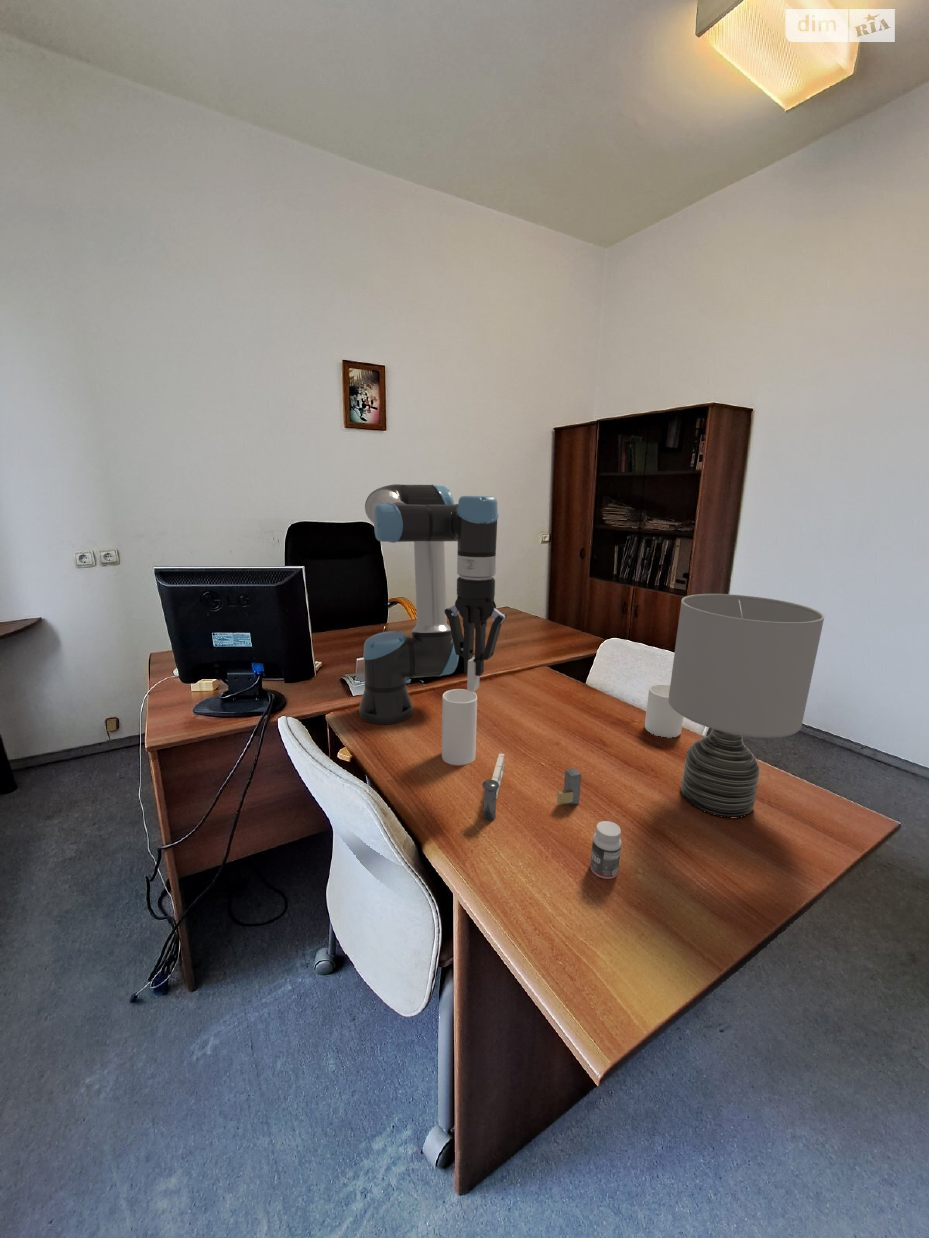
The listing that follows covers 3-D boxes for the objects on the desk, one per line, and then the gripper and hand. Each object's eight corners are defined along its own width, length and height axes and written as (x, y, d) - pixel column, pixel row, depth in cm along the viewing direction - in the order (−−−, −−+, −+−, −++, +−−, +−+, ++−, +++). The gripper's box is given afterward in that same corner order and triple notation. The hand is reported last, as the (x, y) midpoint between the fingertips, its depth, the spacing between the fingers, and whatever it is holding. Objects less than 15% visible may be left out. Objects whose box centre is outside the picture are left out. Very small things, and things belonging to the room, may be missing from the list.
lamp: (731, 851, 92) (772, 629, 81) (633, 784, 113) (655, 599, 102) (807, 815, 103) (852, 614, 92) (705, 759, 123) (732, 590, 113)
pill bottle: (586, 860, 89) (590, 819, 87) (612, 859, 89) (616, 818, 87) (595, 880, 85) (599, 837, 82) (622, 879, 85) (627, 836, 83)
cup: (472, 767, 118) (473, 704, 114) (438, 763, 119) (438, 700, 115) (478, 750, 126) (479, 690, 122) (446, 746, 127) (447, 687, 123)
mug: (658, 740, 132) (664, 699, 129) (631, 721, 143) (636, 682, 140) (688, 736, 135) (694, 696, 132) (659, 717, 146) (664, 679, 143)
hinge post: (479, 813, 101) (480, 781, 99) (494, 810, 102) (495, 778, 100) (484, 823, 98) (486, 790, 96) (500, 820, 99) (501, 787, 97)
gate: (494, 810, 102) (495, 788, 101) (488, 809, 102) (489, 787, 101) (503, 773, 115) (504, 754, 114) (498, 772, 115) (499, 753, 114)
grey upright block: (552, 801, 106) (554, 771, 104) (573, 797, 107) (575, 768, 105) (559, 810, 103) (561, 779, 101) (580, 805, 104) (583, 775, 103)
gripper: (437, 576, 98) (437, 689, 104) (499, 582, 92) (495, 701, 98) (455, 571, 105) (453, 677, 110) (514, 577, 99) (509, 688, 105)
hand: (473, 688), depth 104 cm, fingers closed
